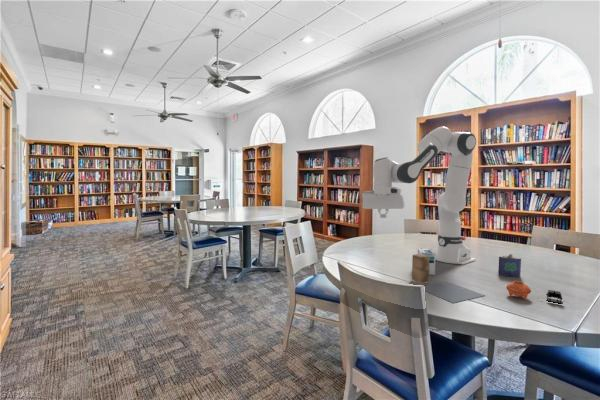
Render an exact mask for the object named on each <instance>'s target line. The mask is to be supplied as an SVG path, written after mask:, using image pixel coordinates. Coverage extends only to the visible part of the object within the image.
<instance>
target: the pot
mask: <svg viewBox="0 0 600 400" xmlns="http://www.w3.org/2000/svg"><path fill="white" fill-rule="evenodd" d="M506 290H507V291H508V295H509V297H511V296H513V295H514V296H515V297H523V299H526V300H527V298H528V295H530V294H531V292H532V290H531V288H530V287H529V285H527V284H525V283H524V282H523V281H519V280H514V281H512V282H510V283H508V284H507V285H506Z"/></svg>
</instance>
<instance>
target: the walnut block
mask: <svg viewBox="0 0 600 400" xmlns="http://www.w3.org/2000/svg"><path fill="white" fill-rule="evenodd" d="M429 257H430V256H427V255H423V254H418V253H417V254H412V258H411V259H412V261H411V263H412V267H411V268H412V269H411V281H413V282H414V283H417V284H419V285H422V284H423V285H424V284H427V283H429V279H430V278H429V277H430V275H429Z"/></svg>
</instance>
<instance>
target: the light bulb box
mask: <svg viewBox="0 0 600 400" xmlns="http://www.w3.org/2000/svg"><path fill="white" fill-rule="evenodd" d="M417 254H423V255H427V256H430V257H429V276H431V275H433V276H434V275H436V259H435V258H436V252H435V251H433V250H432V248H423V247H417Z"/></svg>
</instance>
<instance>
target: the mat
mask: <svg viewBox="0 0 600 400" xmlns="http://www.w3.org/2000/svg"><path fill="white" fill-rule="evenodd" d="M423 286H425V291H424V292H426V293H429V294H430V295H433V296H435V297H438V298H440V299H442V300H445V301H447V302H450V303H451V304H455V303H461V302H464V301H469V300H474V299H479V298H482V297H486V295H485V294H482V293H480V292H477V291H475V290H471V289H469V288H467V287H463V286H460V285H459V284H455V283H452V282H450V281H447V280H446V281H441V282H436V283H431V284H430V283H429V284H423Z"/></svg>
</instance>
